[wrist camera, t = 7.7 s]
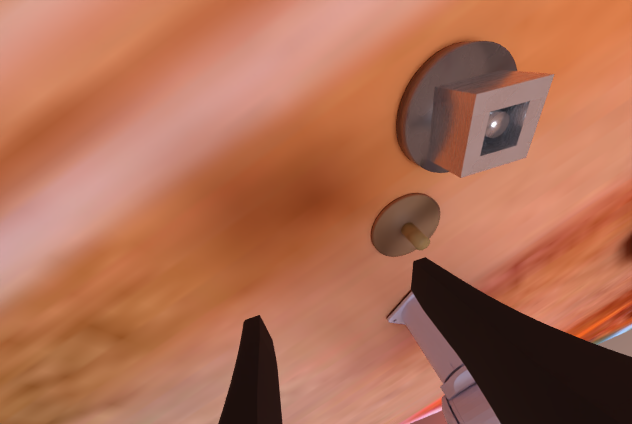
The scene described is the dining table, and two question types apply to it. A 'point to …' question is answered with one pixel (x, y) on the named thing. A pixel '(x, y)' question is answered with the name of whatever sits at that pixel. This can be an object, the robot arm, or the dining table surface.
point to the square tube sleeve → (485, 120)
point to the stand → (405, 225)
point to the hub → (439, 71)
